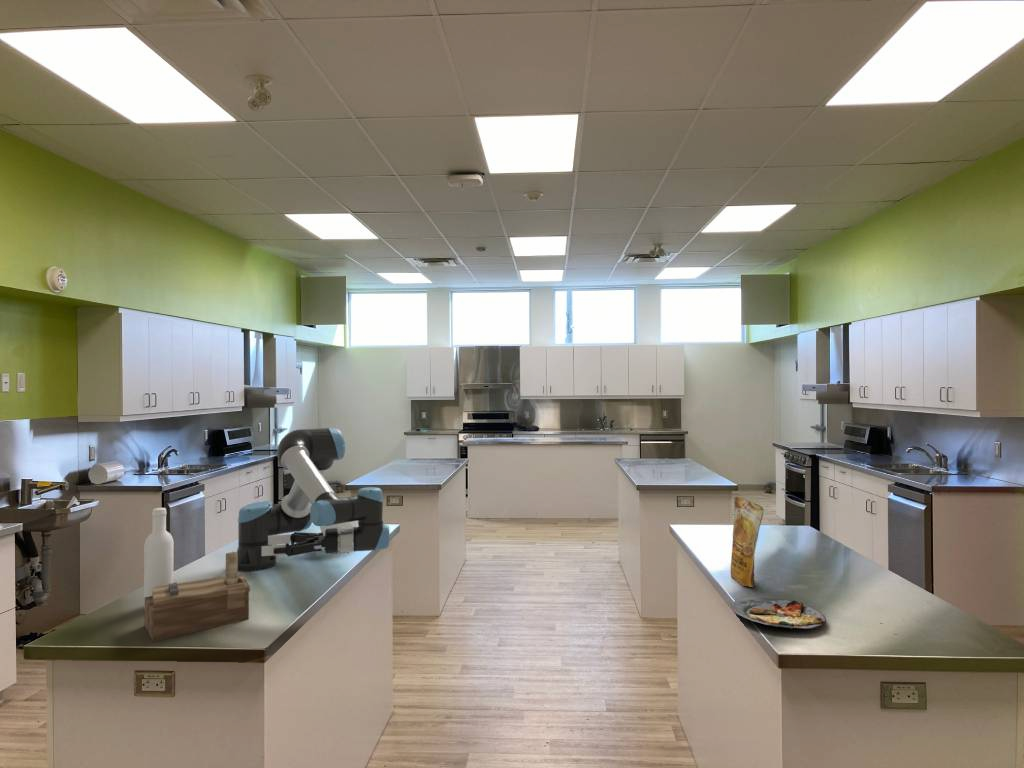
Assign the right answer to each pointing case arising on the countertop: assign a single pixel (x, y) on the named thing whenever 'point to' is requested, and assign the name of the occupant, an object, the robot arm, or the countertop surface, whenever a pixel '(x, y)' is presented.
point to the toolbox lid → (197, 590)
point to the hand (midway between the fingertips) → (264, 545)
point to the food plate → (789, 609)
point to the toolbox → (194, 615)
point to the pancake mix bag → (745, 540)
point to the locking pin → (231, 568)
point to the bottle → (158, 554)
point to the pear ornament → (339, 526)
